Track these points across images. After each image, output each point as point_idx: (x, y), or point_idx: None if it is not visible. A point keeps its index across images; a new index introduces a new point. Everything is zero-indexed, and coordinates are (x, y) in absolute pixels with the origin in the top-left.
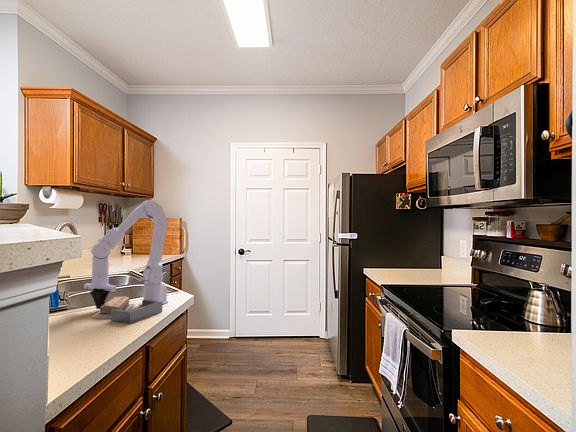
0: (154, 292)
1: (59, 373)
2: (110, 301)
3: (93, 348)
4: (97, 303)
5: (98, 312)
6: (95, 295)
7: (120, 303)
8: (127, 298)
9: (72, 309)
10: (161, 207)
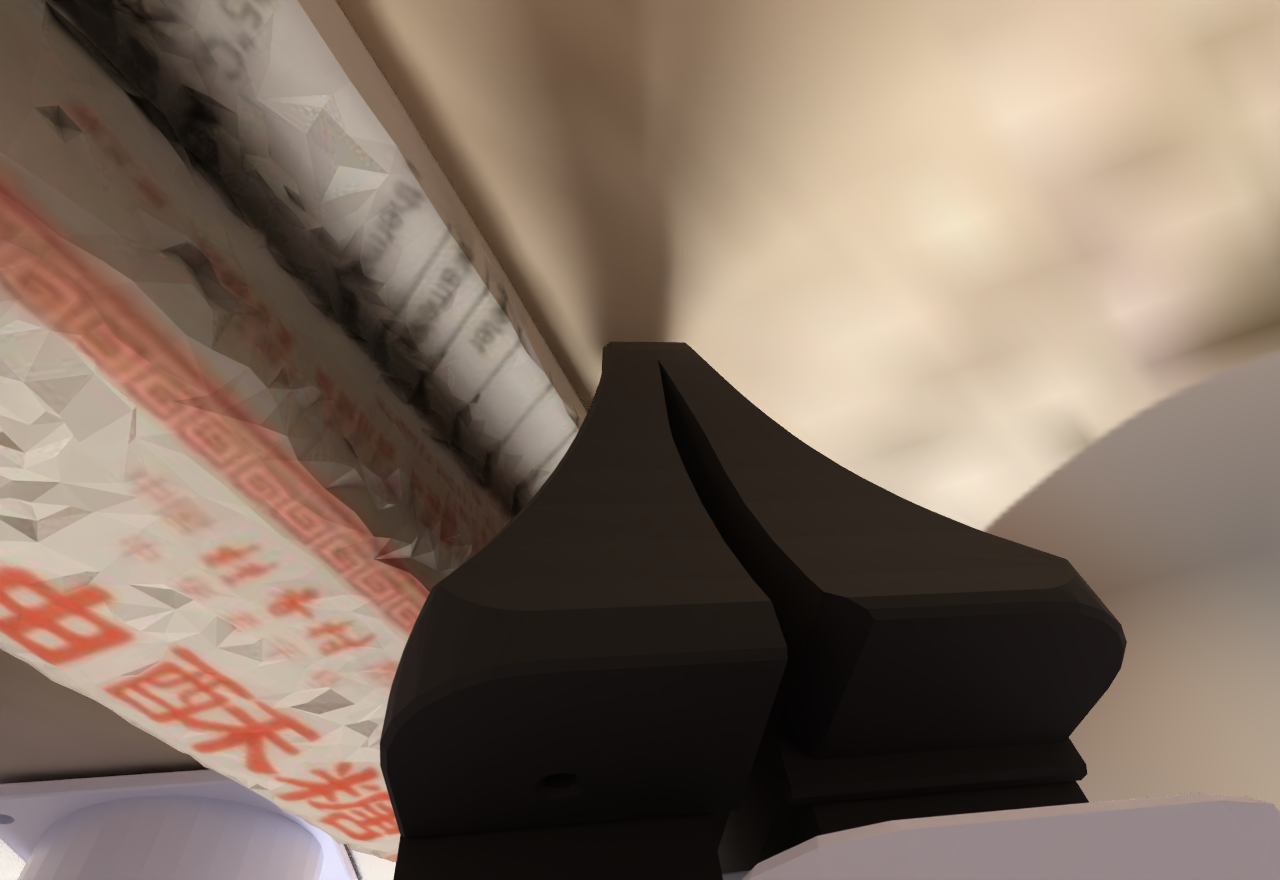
0: None
1: None
2: (226, 542)
3: None
4: (644, 396)
5: (267, 32)
6: (755, 546)
7: None
8: (319, 823)
9: (1272, 246)
10: None
